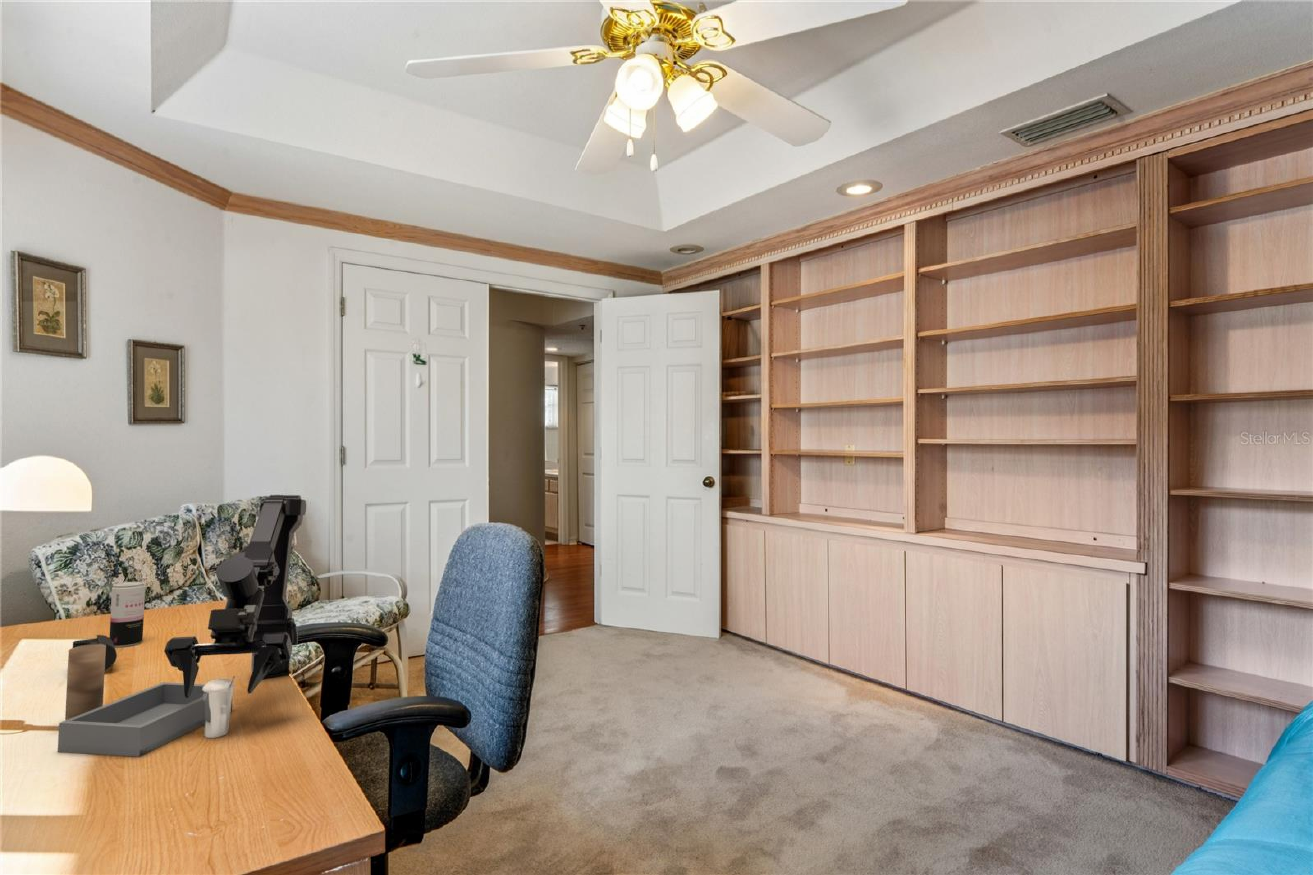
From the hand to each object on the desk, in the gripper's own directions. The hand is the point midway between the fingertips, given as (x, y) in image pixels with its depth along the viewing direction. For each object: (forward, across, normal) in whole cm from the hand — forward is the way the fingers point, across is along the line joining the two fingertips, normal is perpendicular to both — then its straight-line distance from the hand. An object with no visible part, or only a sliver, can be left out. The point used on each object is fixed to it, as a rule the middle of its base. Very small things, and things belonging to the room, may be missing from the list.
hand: (218, 694), depth 112 cm
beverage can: (-44, -40, +54) cm, 80 cm away
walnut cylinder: (-4, -24, +14) cm, 28 cm away
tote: (0, -12, +10) cm, 15 cm away
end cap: (-28, -37, +38) cm, 60 cm away
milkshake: (+4, 0, +6) cm, 7 cm away
